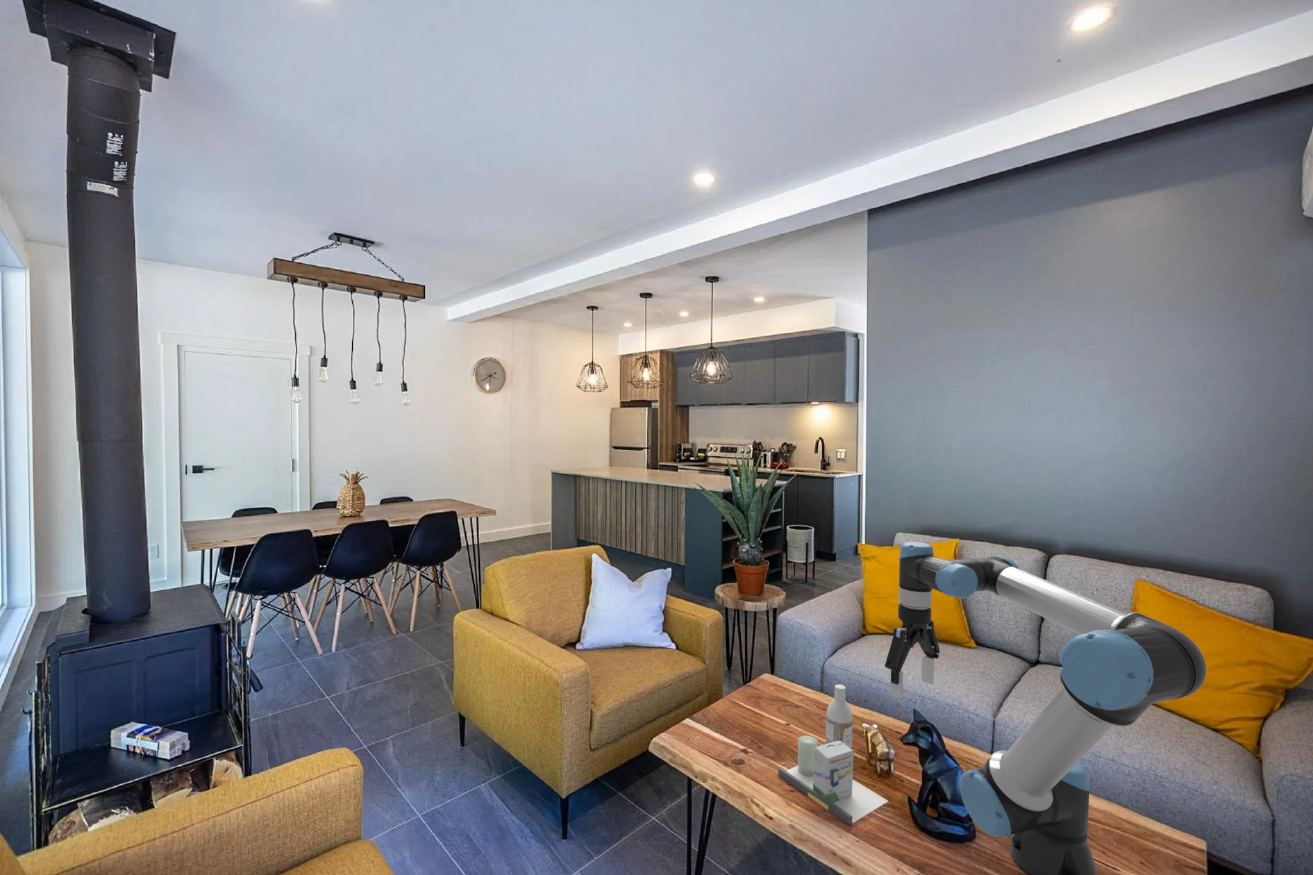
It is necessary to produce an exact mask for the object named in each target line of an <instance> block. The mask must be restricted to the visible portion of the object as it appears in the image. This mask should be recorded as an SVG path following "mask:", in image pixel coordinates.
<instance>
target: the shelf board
mask: <svg viewBox="0 0 1313 875" xmlns="http://www.w3.org/2000/svg"><path fill="white" fill-rule="evenodd" d="M777 769H778V770H777V773H778V774H777V776H779V777H781V778H782V779H783V780H784V781H786V782H787V783H789V784H790V785H792V786H793V787H794V788H796V789H798V790H799V791H800V792H801V793H803V794H805V795H806V796H808V798H810V799H812V801H814V802H816V803H817V804H818V805H820V806H821V807H822V808H824V809H826V810H827V811H829V812H831V813H832V814H833V815H835V816H836V817H837V818H840V819H841V820H842V821H844V822H845V823H846V824H848V825H852V824H854V823H855V822H857V821H859V820H860V819H862V818H863V817H865V816H867V815H869V814H870V813H873V811H876V810H877V809H878V808H880V807H881V806H883V805H885V804H887V803H889V801H888V800H887V799H886V798H884V797H883V796H881V795H880V794H878V793H877V792H874V791H873V790H871V789H869V788H868V787H867V786H864V785H863V784H861V783H860V782H858V781H856V780H855V779H853V784H852V795H851V796H849V797H846V798H843V799H841V800H838V801H836V802H833V803H832V802H831V801H829V800H828V799H826V798H825V797H823V796H822V795H821V794H819V793H818V792H816V791H815V790H813V778H814V776H812V777H808V776H804V775H802V774H800V773H799V771H798V765H796V766H794V767H791V768H790V769H788V770H785V769H784V768H782V767H778V768H777ZM888 808H889V806H886V807H884V808H883V809H881V810H880V811H878V812H876V813H875V814H873V815H871V816H870V817H868V818H867V819H865V820H864V821H862V822H860V823H859V824H856V825H855V826H854V827H852V828H850V829H849V832H851V831H852V830H854V829H856V828H857V827H859V826H860V825H862V824H863V823H866V821H869V820H871V819H872V818H873V817H875V816H876V815H878V814H880V813H881V812H882V811H885V810H886V809H888Z"/></svg>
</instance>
